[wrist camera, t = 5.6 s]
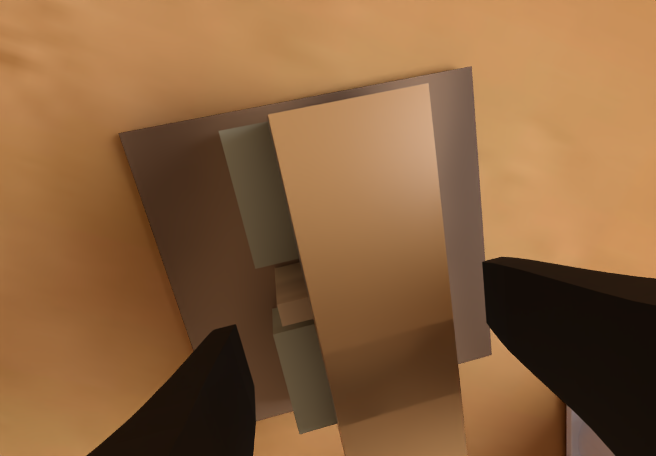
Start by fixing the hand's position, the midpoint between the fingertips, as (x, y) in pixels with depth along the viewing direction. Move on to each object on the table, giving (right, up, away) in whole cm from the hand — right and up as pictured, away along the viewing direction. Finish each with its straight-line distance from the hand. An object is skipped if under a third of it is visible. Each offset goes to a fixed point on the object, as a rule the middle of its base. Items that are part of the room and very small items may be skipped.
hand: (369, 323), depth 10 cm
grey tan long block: (0, +1, +3) cm, 3 cm away
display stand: (-1, +1, +5) cm, 6 cm away
